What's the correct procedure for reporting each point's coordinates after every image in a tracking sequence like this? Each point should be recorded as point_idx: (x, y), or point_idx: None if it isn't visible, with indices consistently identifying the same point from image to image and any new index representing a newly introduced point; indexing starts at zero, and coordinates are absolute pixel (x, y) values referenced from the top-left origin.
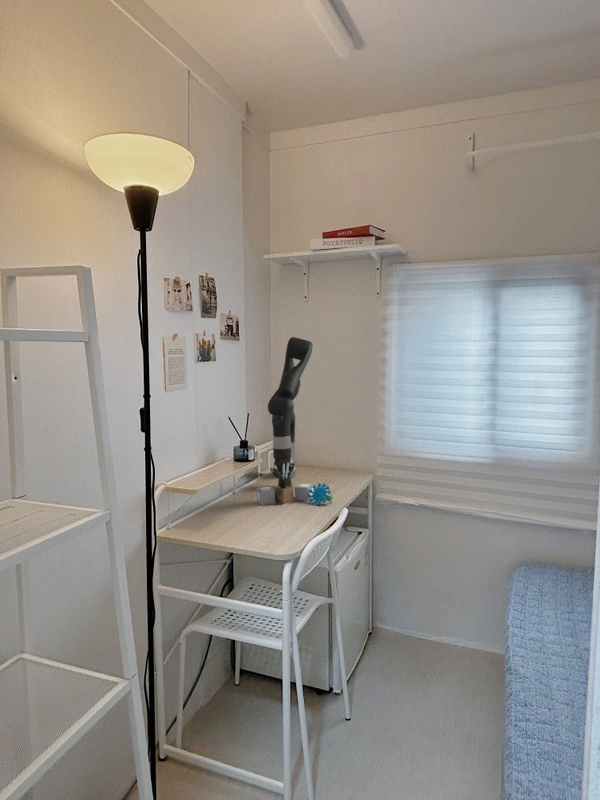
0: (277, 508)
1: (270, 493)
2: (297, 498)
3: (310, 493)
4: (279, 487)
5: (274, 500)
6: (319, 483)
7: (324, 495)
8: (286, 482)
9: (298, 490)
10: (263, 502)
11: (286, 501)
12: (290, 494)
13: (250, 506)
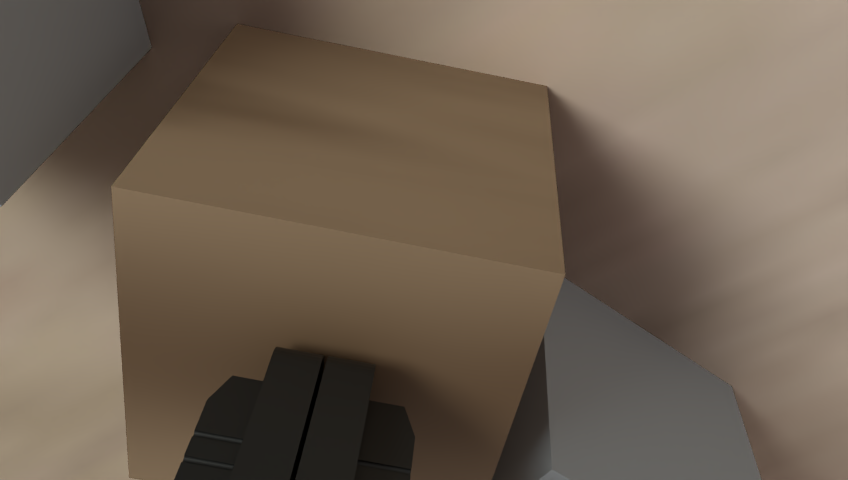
0: (843, 64)
1: (626, 459)
2: (118, 2)
3: None
4: None
5: None
6: None
7: None
8: (194, 455)
9: (4, 46)
10: (714, 401)
11: (462, 90)
12: (297, 125)
13: (834, 476)
